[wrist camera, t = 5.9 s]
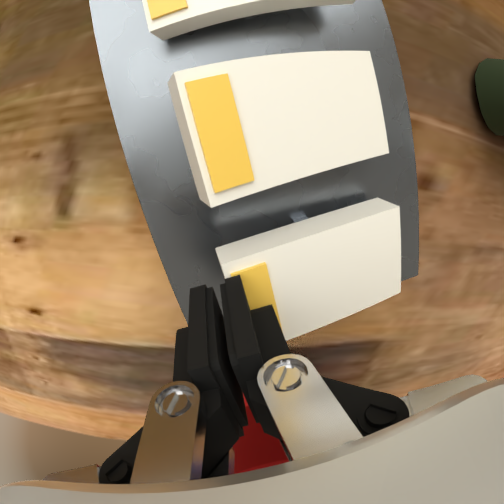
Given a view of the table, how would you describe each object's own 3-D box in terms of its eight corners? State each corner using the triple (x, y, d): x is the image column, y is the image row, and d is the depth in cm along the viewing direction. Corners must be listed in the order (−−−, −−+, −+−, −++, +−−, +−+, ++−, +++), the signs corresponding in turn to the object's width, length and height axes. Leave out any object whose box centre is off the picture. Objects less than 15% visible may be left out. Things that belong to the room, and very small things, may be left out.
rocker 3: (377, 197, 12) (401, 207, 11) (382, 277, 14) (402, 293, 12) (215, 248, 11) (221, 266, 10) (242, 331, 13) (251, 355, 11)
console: (321, -30, 12) (359, -72, 7) (376, 240, 19) (425, 281, 14) (109, 11, 12) (71, -26, 6) (191, 291, 19) (187, 352, 14)
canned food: (198, 365, 22) (200, 501, 12) (302, 336, 22) (354, 466, 12) (230, 419, 25) (243, 527, 15) (316, 395, 25) (354, 500, 15)
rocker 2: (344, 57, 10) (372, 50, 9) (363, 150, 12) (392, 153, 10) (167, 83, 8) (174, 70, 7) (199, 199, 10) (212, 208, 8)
